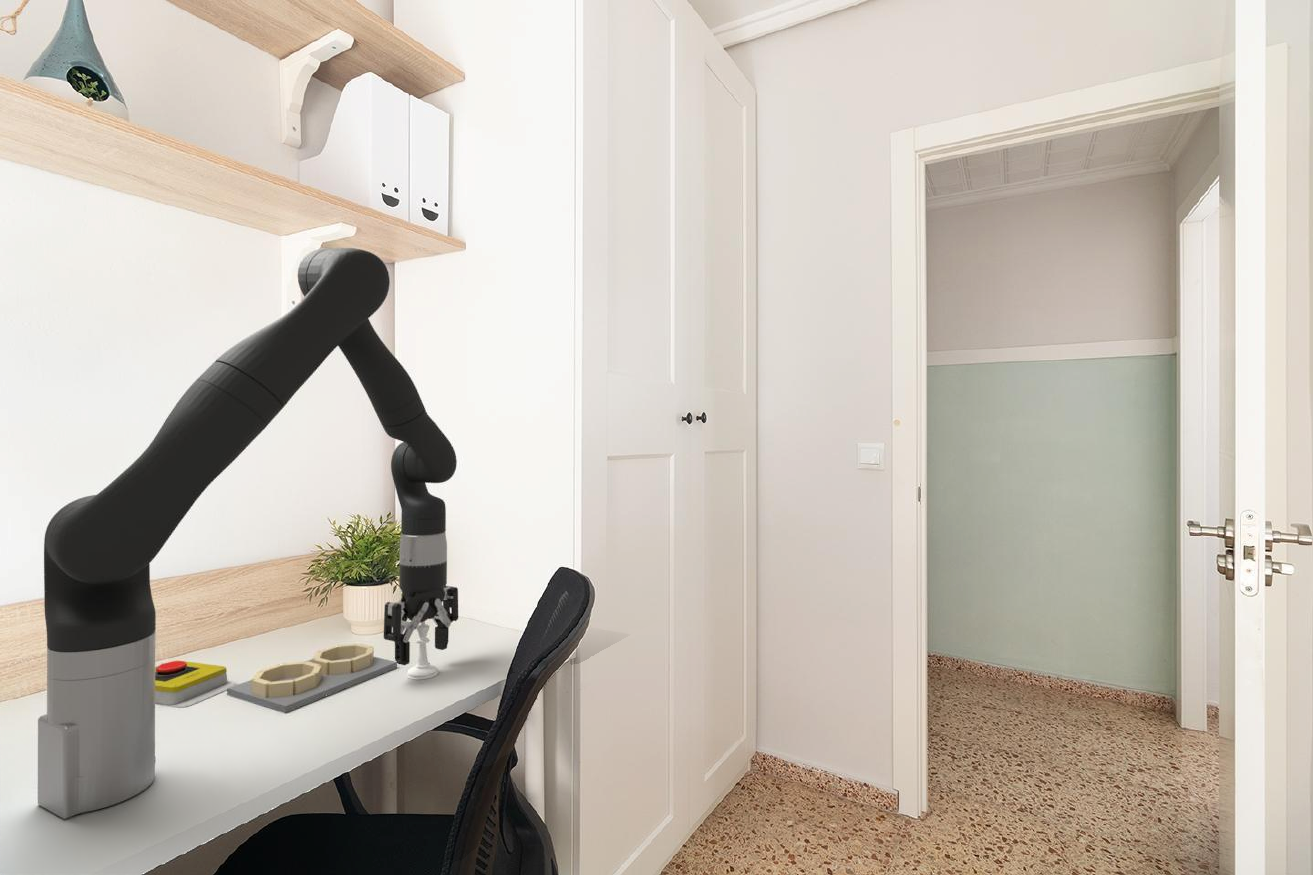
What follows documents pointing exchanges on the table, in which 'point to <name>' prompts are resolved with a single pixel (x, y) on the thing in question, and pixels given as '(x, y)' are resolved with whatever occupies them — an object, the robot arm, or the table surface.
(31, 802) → the table surface
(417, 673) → the chess piece
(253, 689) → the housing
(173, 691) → the emergency button
